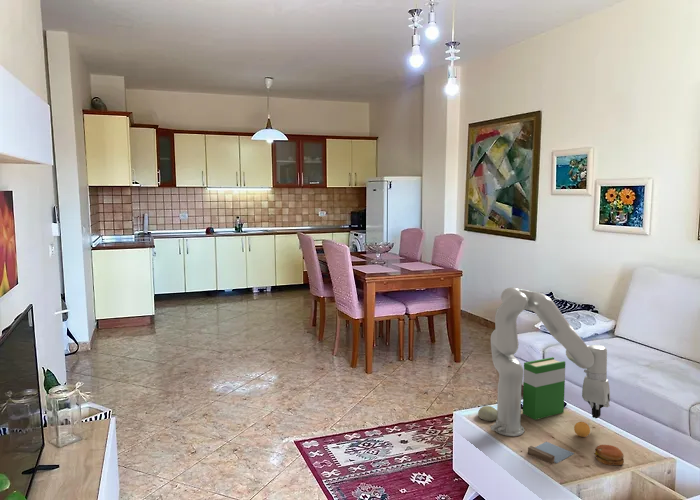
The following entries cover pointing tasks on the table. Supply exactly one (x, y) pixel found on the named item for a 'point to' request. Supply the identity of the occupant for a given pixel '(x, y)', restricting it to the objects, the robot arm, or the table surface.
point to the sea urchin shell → (487, 413)
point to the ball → (582, 429)
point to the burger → (609, 455)
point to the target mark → (555, 451)
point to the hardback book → (543, 388)
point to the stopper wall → (541, 454)
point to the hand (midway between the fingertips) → (596, 417)
